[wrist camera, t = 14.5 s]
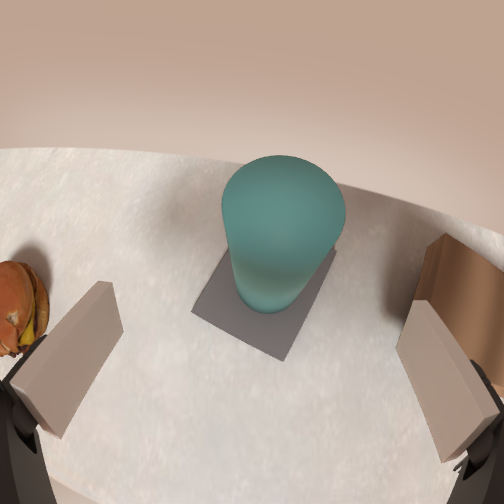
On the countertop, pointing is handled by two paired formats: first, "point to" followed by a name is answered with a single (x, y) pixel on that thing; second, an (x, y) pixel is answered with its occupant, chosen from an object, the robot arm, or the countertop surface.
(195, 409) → the countertop surface
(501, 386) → the slab
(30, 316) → the burger
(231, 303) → the pad
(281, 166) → the roller
